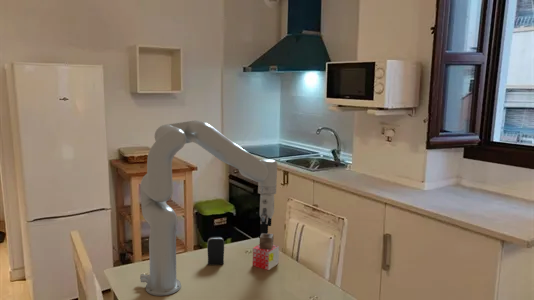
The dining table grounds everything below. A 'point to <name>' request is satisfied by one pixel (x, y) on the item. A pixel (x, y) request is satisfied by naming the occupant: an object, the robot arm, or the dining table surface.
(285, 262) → the dining table surface
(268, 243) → the walnut block
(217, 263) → the battery charger
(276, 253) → the puzzle cube
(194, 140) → the robot arm
